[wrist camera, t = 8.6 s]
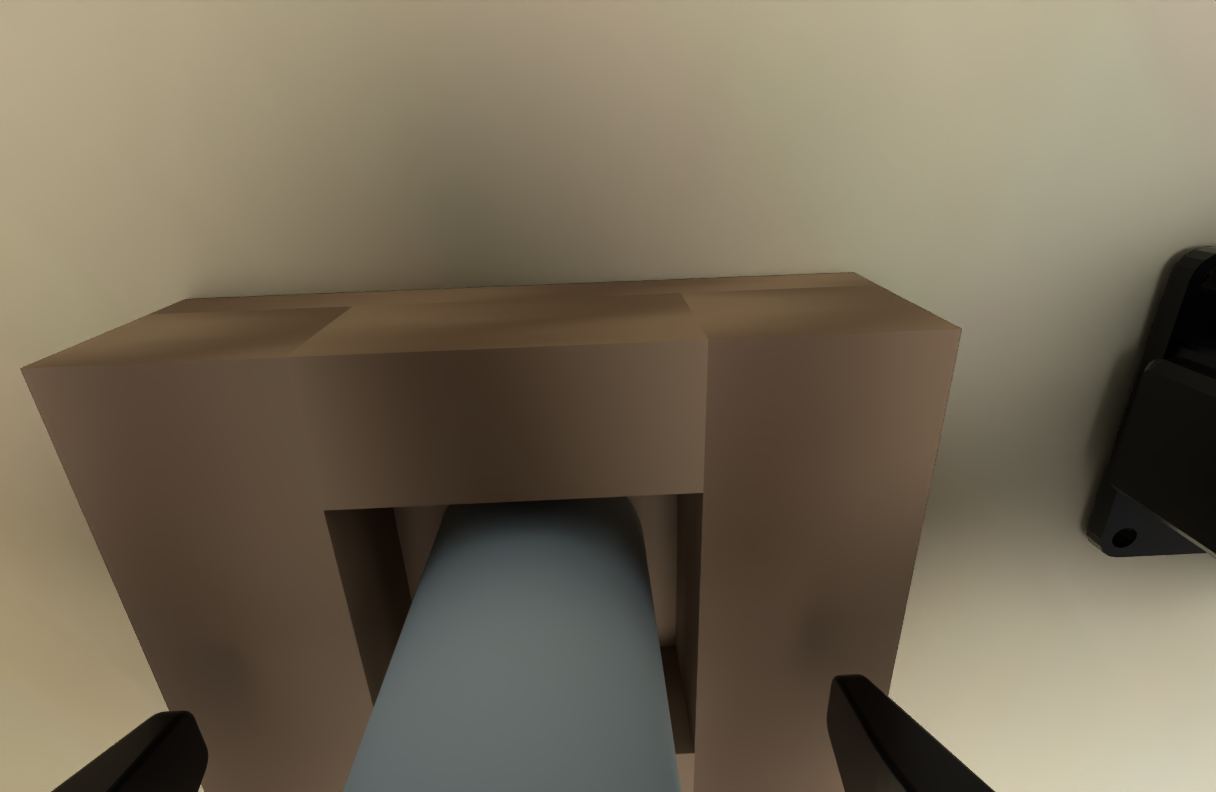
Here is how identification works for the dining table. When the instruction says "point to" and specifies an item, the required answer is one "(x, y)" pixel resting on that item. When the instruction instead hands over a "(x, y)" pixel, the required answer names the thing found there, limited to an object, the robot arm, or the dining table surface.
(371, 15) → the dining table surface
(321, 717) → the socket block
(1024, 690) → the dining table surface
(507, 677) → the pin
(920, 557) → the dining table surface
